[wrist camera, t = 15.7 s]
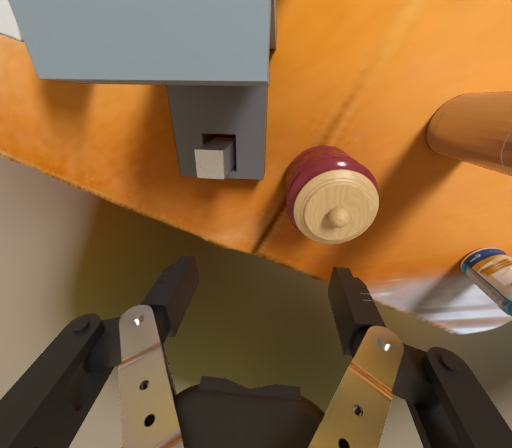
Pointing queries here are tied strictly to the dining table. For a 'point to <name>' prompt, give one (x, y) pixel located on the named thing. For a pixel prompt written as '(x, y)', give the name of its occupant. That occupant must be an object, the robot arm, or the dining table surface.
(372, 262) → the dining table surface
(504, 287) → the beverage bottle
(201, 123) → the socket
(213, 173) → the peg
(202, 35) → the coffee dispenser stand
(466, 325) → the dining table surface
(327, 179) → the canister
